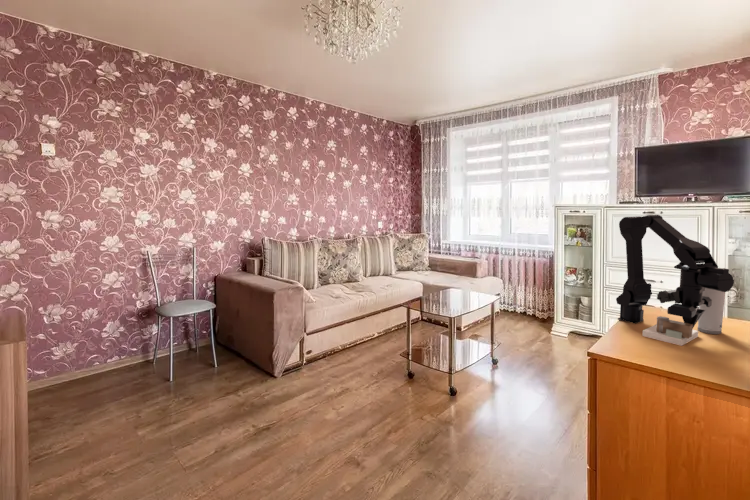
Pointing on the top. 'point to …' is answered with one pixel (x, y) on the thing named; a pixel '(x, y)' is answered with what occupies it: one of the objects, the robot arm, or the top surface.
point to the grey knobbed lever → (674, 326)
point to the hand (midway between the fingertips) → (688, 331)
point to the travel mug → (712, 312)
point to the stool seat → (669, 335)
